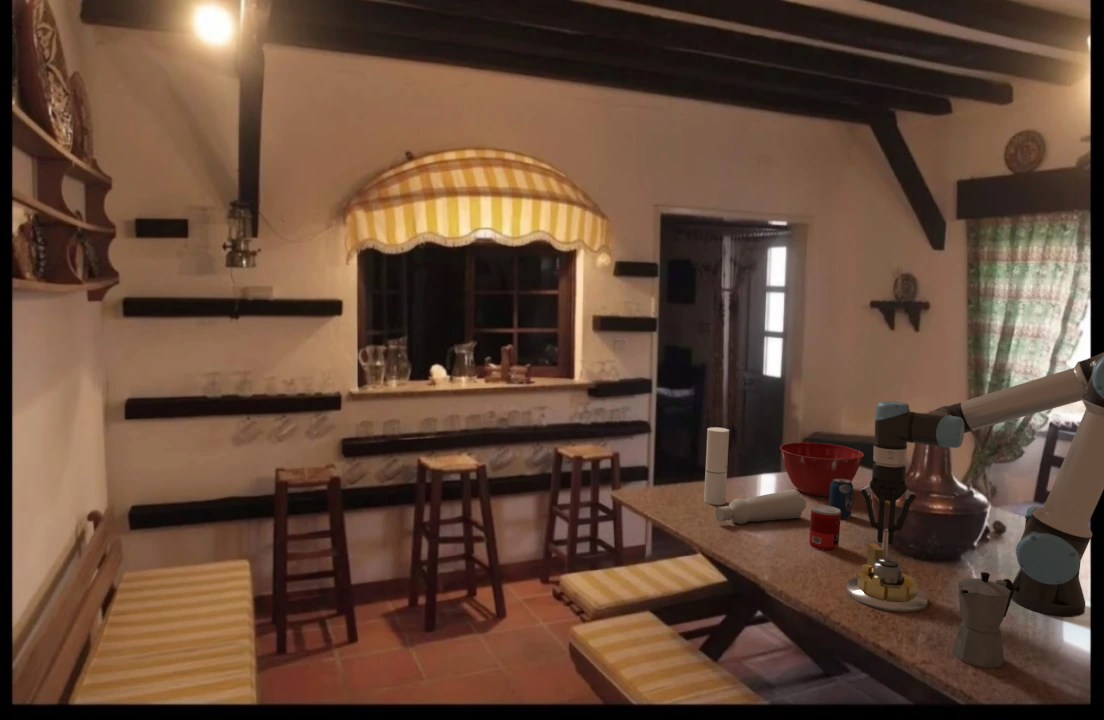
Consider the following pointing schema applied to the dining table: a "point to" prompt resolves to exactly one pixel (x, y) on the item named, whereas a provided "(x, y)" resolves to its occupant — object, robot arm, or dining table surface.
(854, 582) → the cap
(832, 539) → the canned food
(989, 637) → the coffeepot
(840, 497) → the soda can
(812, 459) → the mixing bowl
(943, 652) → the dining table surface
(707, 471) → the cylindrical container
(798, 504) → the bottle
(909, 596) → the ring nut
